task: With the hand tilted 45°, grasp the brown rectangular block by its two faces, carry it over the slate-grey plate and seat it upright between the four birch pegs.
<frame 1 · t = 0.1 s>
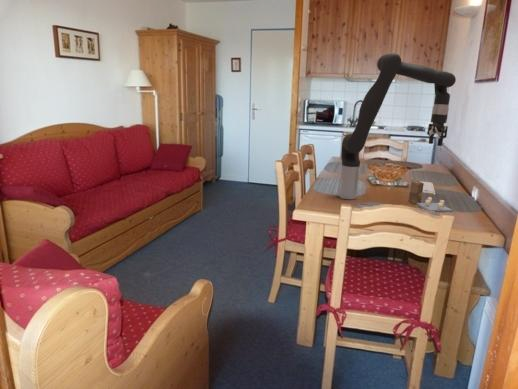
hand: (435, 144, 211), 29 cm above the table, tool pointing down, fingers open, 8 cm apart
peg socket: (433, 208, 200), on the table
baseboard: (425, 189, 241), on the table
brown rectangular block: (414, 202, 209), on the table
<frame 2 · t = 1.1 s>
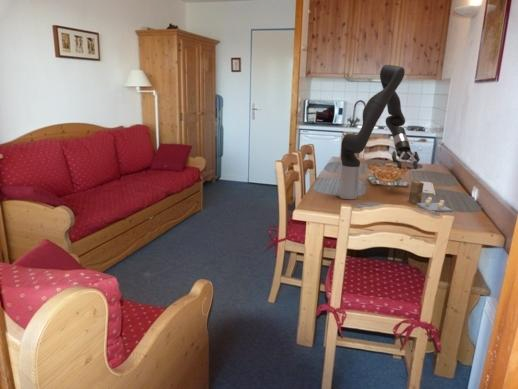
hand: (408, 168, 215), 16 cm above the table, tool tilted 45°, fingers open, 8 cm apart
nothing on the table moved.
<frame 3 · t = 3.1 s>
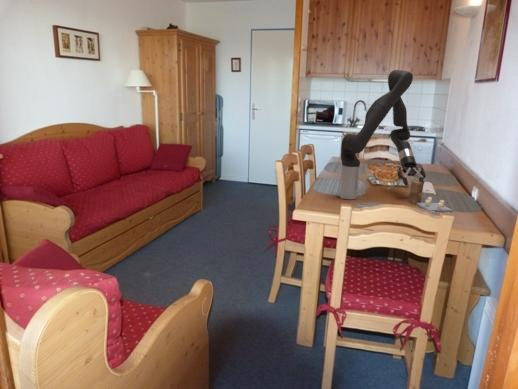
hand: (414, 185, 209), 9 cm above the table, tool tilted 45°, fingers open, 8 cm apart
nothing on the table moved.
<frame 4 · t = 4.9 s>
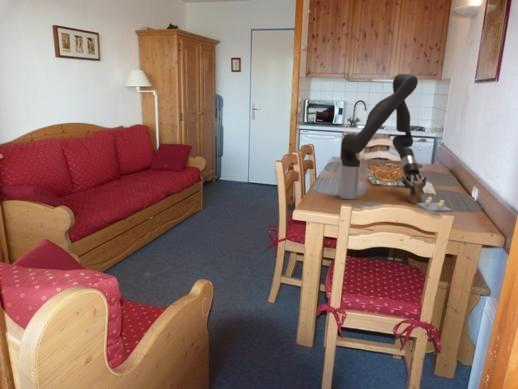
hand: (417, 194, 205), 5 cm above the table, tool tilted 45°, fingers closed on brown rectangular block, 3 cm apart
brown rectangular block: (414, 202, 209), on the table, touching gripper
everything else where it was.
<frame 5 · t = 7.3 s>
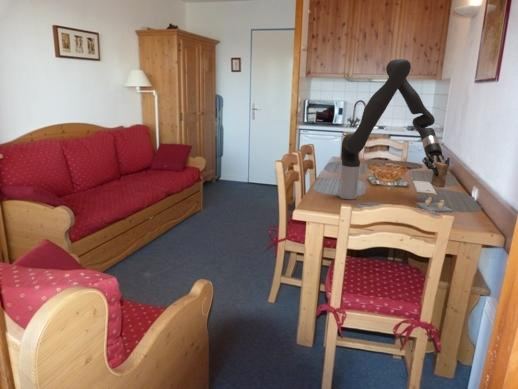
hand: (441, 175, 193), 17 cm above the table, tool tilted 45°, fingers closed on brown rectangular block, 3 cm apart
brown rectangular block: (437, 185, 197), point 12 cm above the table, touching gripper
everything else where it was.
when the fingers open (8 cm above the table, at t = 9.7 s): brown rectangular block stays where it is, resting on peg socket.
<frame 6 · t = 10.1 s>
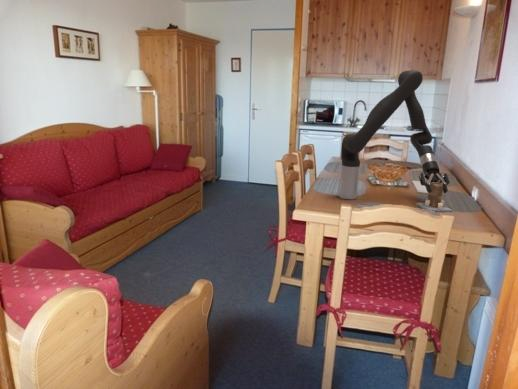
hand: (438, 192, 196), 9 cm above the table, tool tilted 45°, fingers open, 7 cm apart
brown rectangular block: (433, 205, 200), point 1 cm above the table, touching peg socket
everything else where it was.
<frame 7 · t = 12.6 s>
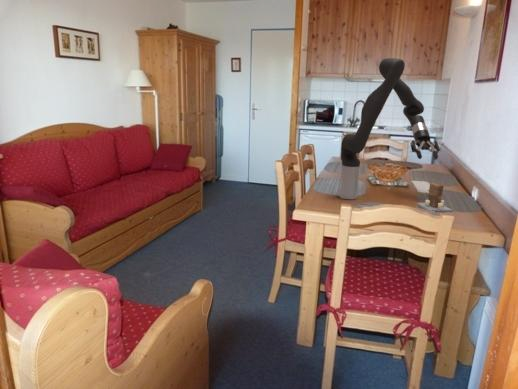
hand: (428, 158, 205), 23 cm above the table, tool tilted 45°, fingers open, 8 cm apart
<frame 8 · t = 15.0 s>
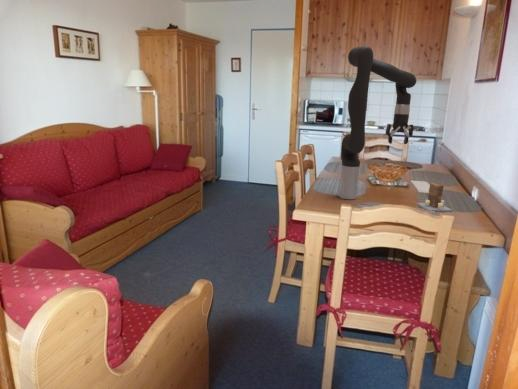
hand: (397, 143, 217), 28 cm above the table, tool pointing down, fingers open, 8 cm apart
at the end: brown rectangular block 0.7 cm off-centre on the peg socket, point 1.0 cm above the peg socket's base; brown rectangular block tilted 0°; the gripper is holding nothing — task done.
